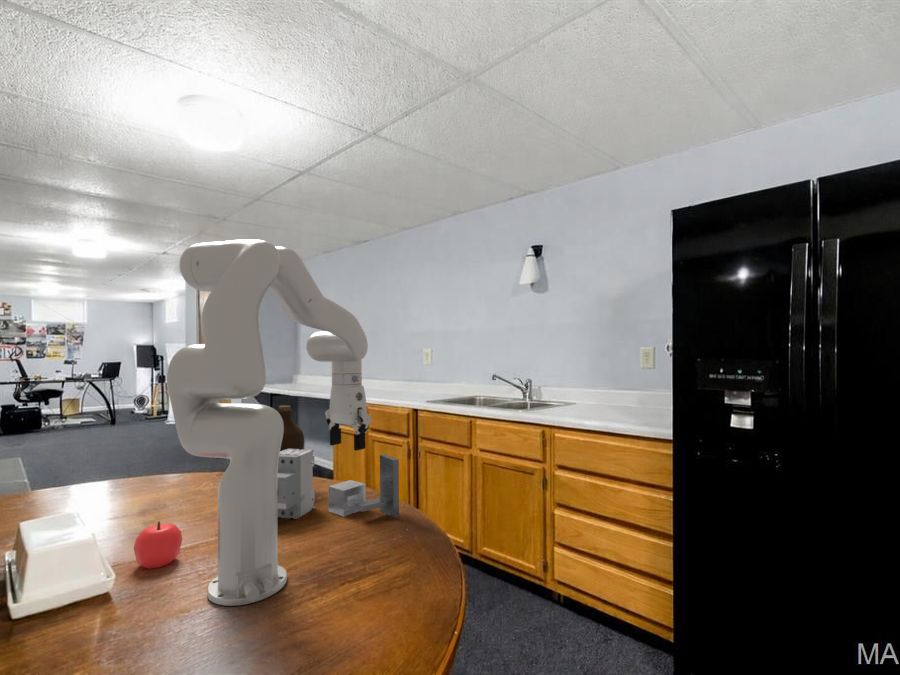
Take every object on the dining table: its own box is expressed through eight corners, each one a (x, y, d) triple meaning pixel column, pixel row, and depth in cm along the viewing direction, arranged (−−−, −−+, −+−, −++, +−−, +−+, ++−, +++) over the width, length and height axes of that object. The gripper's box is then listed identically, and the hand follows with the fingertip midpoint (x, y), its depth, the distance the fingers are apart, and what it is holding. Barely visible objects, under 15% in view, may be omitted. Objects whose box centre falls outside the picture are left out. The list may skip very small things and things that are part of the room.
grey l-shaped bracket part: (399, 517, 111) (398, 459, 111) (365, 526, 106) (364, 465, 106) (385, 509, 116) (385, 454, 117) (352, 517, 111) (352, 459, 112)
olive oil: (305, 497, 127) (305, 407, 127) (264, 502, 123) (264, 409, 123) (302, 486, 136) (302, 402, 137) (264, 491, 132) (264, 404, 133)
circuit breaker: (253, 526, 106) (253, 461, 106) (288, 505, 120) (288, 448, 120) (281, 529, 104) (281, 463, 105) (314, 507, 118) (314, 449, 118)
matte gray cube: (343, 517, 112) (343, 490, 112) (328, 511, 115) (328, 486, 116) (366, 508, 117) (366, 483, 117) (351, 504, 121) (351, 479, 121)
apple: (134, 560, 89) (134, 519, 89) (181, 550, 94) (181, 511, 94) (132, 577, 83) (133, 533, 83) (183, 565, 87) (183, 523, 87)
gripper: (380, 380, 115) (381, 448, 114) (337, 377, 125) (338, 440, 125) (357, 382, 109) (357, 454, 108) (314, 379, 120) (314, 445, 119)
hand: (347, 446), depth 117 cm, fingers open, 9 cm apart
